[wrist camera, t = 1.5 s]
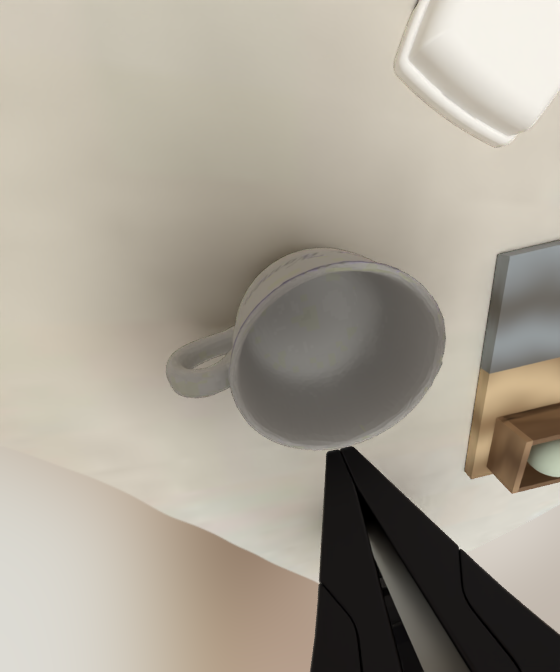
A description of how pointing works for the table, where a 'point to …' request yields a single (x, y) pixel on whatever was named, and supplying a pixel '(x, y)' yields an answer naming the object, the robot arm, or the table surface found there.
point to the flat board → (518, 345)
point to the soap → (483, 62)
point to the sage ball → (546, 458)
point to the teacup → (321, 350)
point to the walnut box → (522, 446)
